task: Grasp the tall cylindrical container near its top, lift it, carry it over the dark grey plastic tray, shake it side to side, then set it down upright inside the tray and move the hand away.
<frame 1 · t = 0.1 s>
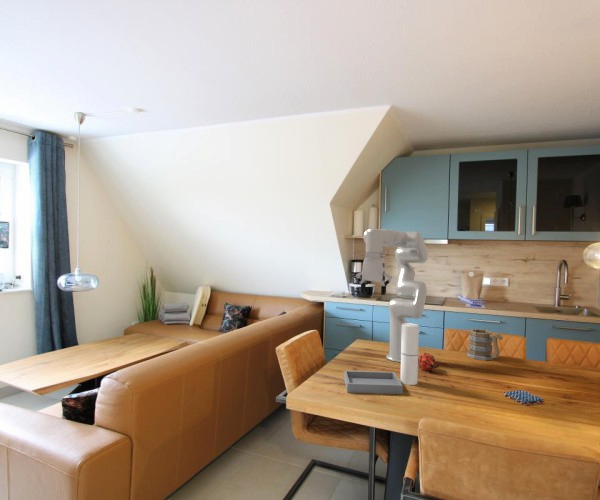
hand: (373, 293, 174), 37 cm above the table, tool pointing down, fingers open, 9 cm apart
cylindrical container: (408, 382, 167), on the table
tray: (371, 385, 162), on the table
dragon fruit: (427, 370, 183), on the table
woven mat: (523, 401, 151), on the table
tankard: (485, 359, 204), on the table
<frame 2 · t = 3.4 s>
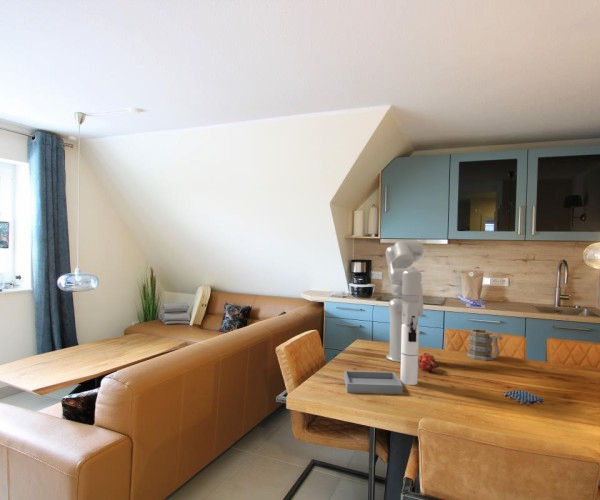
hand: (409, 339, 167), 19 cm above the table, tool pointing down, fingers closed on cylindrical container, 7 cm apart
cylindrical container: (408, 382, 167), on the table, touching gripper
everything else where it was.
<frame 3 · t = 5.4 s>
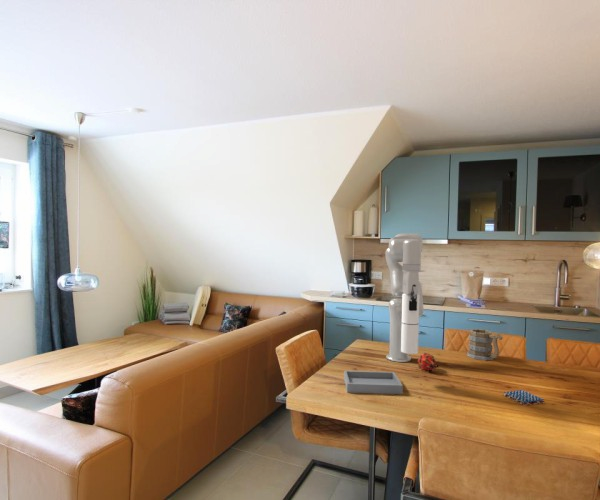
hand: (410, 308, 167), 32 cm above the table, tool pointing down, fingers closed on cylindrical container, 7 cm apart
cylindrical container: (409, 352, 167), point 13 cm above the table, touching gripper
everything else where it was.
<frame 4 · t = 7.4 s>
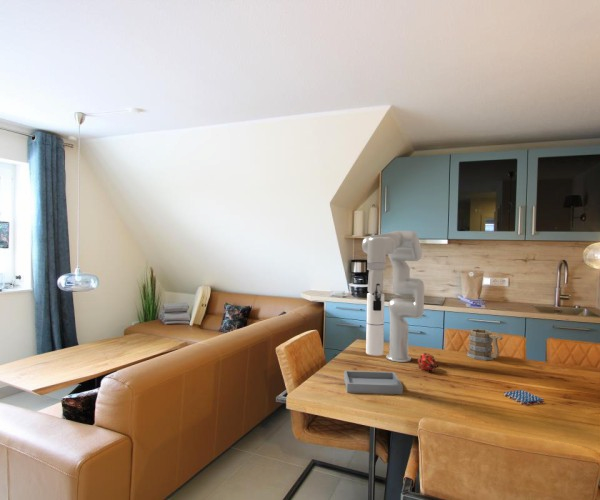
hand: (375, 308, 161), 33 cm above the table, tool pointing down, fingers closed on cylindrical container, 7 cm apart
cylindrical container: (374, 353, 161), point 14 cm above the table, touching gripper
everything else where it was.
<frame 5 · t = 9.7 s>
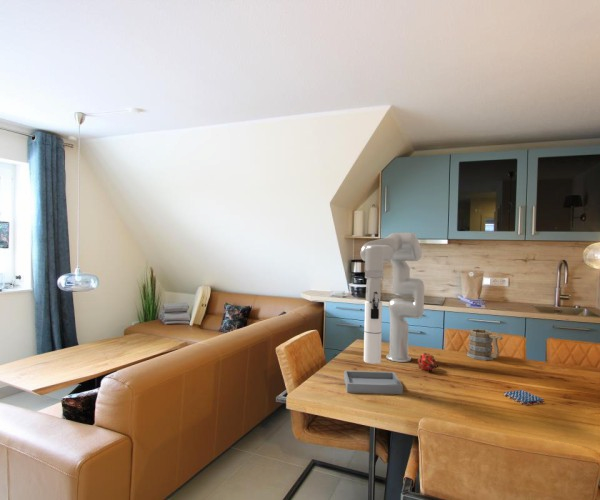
hand: (373, 316, 161), 29 cm above the table, tool pointing down, fingers closed on cylindrical container, 7 cm apart
cylindrical container: (372, 361, 161), point 10 cm above the table, touching gripper
everything else where it was.
when the fingers open (21 cm above the table, at t = 11.6 s): cylindrical container drops 1 cm, resting on tray.
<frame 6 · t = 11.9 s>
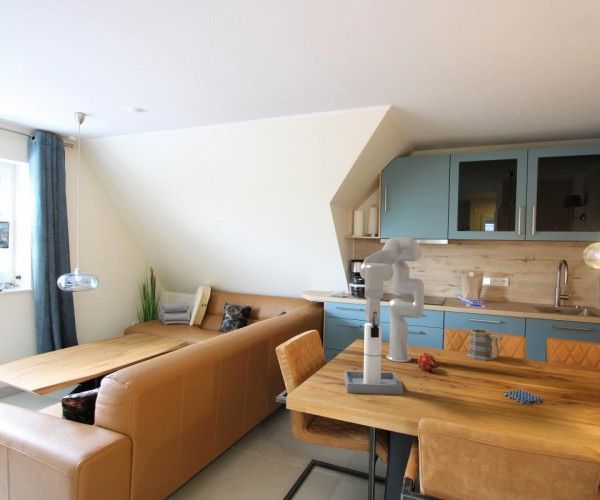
hand: (372, 334, 161), 22 cm above the table, tool pointing down, fingers open, 9 cm apart
cylindrical container: (372, 383, 162), point 1 cm above the table, touching tray
everything else where it was.
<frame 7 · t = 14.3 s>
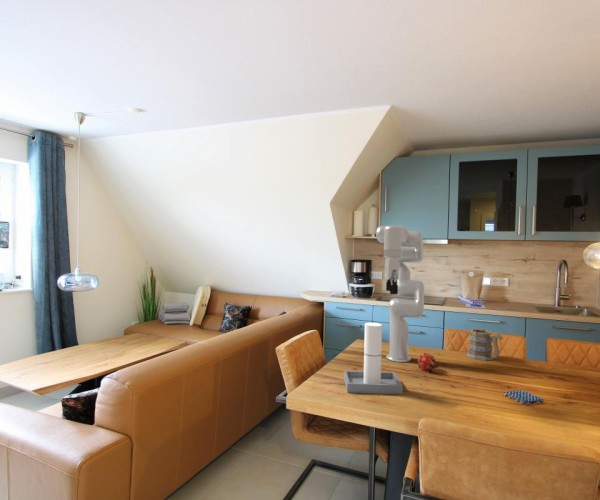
hand: (391, 292, 170), 39 cm above the table, tool pointing down, fingers open, 9 cm apart
nothing on the table moved.
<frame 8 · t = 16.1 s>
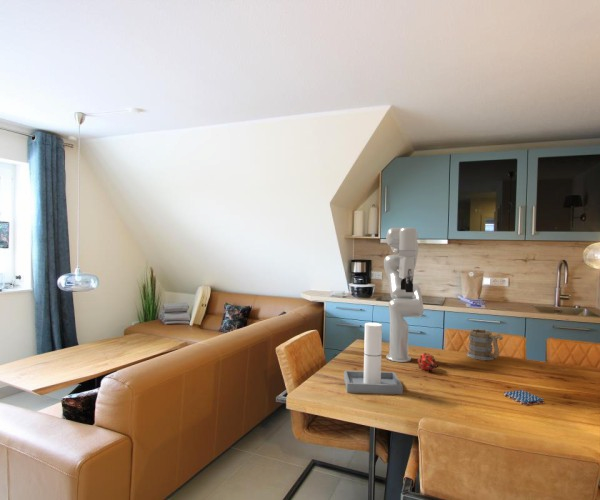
hand: (406, 291, 178), 38 cm above the table, tool pointing down, fingers open, 9 cm apart
nothing on the table moved.
at the end: cylindrical container inside the target area on the tray (0.4 cm from its centre), point 0.8 cm above the tray's base; cylindrical container tilted 0°; the gripper is holding nothing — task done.
